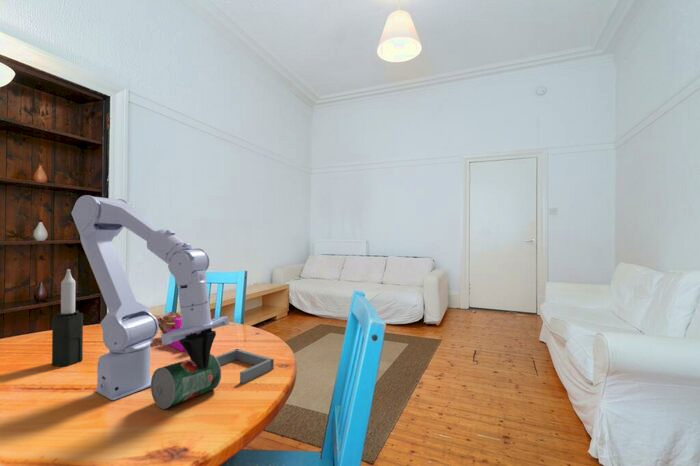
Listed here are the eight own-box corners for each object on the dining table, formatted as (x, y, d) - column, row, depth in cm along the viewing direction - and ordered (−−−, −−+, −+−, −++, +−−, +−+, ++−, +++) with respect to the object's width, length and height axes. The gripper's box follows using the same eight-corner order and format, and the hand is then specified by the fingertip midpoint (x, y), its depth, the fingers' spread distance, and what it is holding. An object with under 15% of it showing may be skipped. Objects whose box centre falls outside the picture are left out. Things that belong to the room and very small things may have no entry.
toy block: (166, 344, 104) (166, 320, 104) (186, 339, 109) (186, 316, 109) (190, 355, 95) (190, 329, 95) (210, 349, 100) (211, 324, 100)
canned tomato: (214, 348, 75) (167, 361, 65) (225, 382, 72) (177, 402, 63) (195, 360, 78) (147, 375, 68) (204, 394, 76) (156, 414, 66)
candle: (65, 367, 85) (66, 270, 85) (49, 365, 86) (50, 269, 86) (84, 359, 90) (85, 268, 90) (69, 358, 91) (70, 267, 91)
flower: (156, 334, 113) (156, 311, 113) (186, 331, 117) (187, 309, 117) (153, 343, 104) (153, 318, 104) (185, 339, 108) (186, 315, 108)
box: (242, 383, 77) (243, 373, 77) (205, 370, 84) (205, 360, 84) (273, 368, 86) (273, 359, 86) (236, 357, 93) (237, 348, 93)
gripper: (172, 312, 63) (180, 383, 63) (234, 296, 76) (241, 356, 75) (152, 312, 67) (160, 380, 66) (214, 298, 79) (221, 354, 79)
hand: (202, 367), depth 71 cm, fingers closed, pressing on canned tomato
